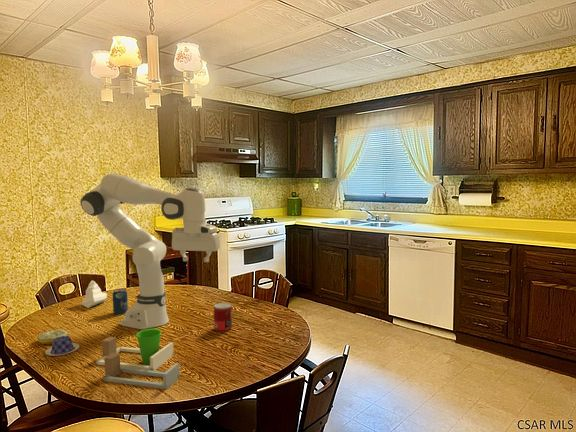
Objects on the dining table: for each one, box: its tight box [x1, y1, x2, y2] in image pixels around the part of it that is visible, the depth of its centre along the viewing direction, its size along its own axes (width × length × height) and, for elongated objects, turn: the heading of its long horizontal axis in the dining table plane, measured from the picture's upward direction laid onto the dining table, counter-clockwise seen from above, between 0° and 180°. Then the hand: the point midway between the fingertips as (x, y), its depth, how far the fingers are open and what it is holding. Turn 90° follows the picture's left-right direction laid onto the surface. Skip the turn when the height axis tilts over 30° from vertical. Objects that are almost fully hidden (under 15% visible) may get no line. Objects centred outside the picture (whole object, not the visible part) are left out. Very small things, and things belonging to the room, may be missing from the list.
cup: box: [135, 328, 163, 366], centre depth 147 cm, size 9×9×11 cm
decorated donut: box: [37, 328, 68, 345], centre depth 169 cm, size 10×11×4 cm
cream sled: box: [95, 336, 174, 371], centre depth 149 cm, size 25×13×7 cm, turn 75°
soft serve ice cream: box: [81, 280, 108, 309], centre depth 219 cm, size 12×15×14 cm
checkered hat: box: [44, 335, 80, 357], centre depth 159 cm, size 12×12×5 cm
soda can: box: [112, 288, 129, 316], centre depth 204 cm, size 7×7×12 cm
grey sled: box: [103, 353, 181, 390], centre depth 135 cm, size 25×8×7 cm, turn 75°
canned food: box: [213, 302, 233, 332], centre depth 180 cm, size 8×8×11 cm
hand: (196, 261), depth 163 cm, fingers open, 8 cm apart
